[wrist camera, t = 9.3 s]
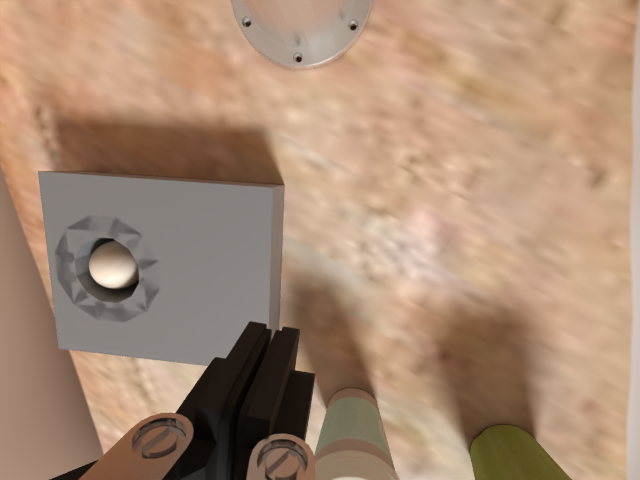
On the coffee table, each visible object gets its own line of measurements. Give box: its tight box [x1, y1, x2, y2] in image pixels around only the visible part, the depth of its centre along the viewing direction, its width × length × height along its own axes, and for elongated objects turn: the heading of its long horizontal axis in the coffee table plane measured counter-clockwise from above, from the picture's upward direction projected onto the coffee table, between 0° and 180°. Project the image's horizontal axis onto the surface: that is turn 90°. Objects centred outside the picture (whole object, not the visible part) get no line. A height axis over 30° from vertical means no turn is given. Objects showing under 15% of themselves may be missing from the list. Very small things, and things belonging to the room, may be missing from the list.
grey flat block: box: [38, 171, 285, 366], centre depth 34 cm, size 18×22×5 cm
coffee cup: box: [314, 388, 400, 480], centre depth 32 cm, size 8×9×12 cm
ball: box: [89, 241, 139, 289], centre depth 35 cm, size 5×5×5 cm
